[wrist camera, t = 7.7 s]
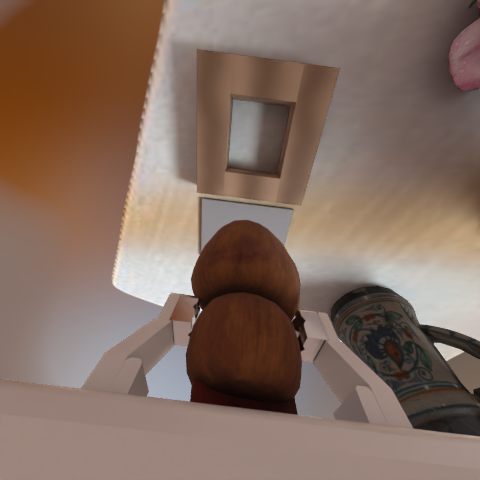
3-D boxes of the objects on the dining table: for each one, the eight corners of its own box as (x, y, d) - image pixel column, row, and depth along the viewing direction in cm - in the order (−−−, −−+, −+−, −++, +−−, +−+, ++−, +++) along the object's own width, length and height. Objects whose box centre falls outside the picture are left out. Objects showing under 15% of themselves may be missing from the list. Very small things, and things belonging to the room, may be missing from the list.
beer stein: (317, 326, 48) (373, 486, 26) (355, 267, 39) (491, 438, 17) (378, 337, 49) (481, 500, 27) (430, 282, 40) (651, 463, 18)
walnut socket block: (327, 77, 24) (339, 68, 21) (295, 197, 32) (301, 205, 29) (204, 61, 24) (197, 49, 21) (202, 186, 32) (197, 192, 29)
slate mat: (292, 209, 33) (293, 210, 33) (278, 263, 39) (278, 265, 39) (202, 197, 33) (201, 198, 33) (201, 254, 39) (201, 256, 38)
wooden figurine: (299, 244, 16) (505, 704, 3) (253, 282, 18) (262, 638, 5) (239, 192, 14) (117, 819, 1) (197, 242, 17) (-4, 642, 3)
